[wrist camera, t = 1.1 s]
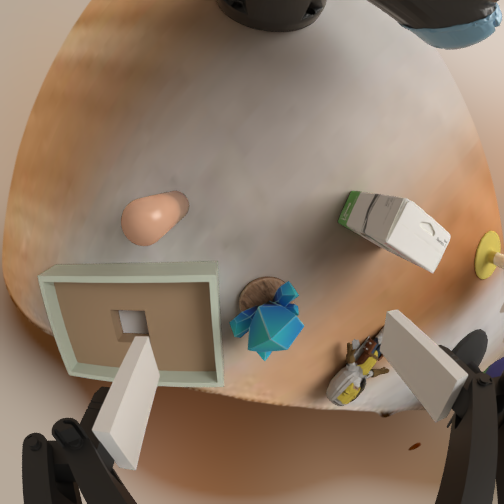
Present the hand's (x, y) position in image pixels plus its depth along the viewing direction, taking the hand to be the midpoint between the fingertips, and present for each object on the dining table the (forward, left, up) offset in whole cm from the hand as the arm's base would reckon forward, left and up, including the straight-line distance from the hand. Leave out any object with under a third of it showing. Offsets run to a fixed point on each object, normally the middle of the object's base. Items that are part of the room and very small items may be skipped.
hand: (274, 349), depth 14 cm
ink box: (-4, +16, -21) cm, 27 cm away
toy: (+19, +18, -22) cm, 34 cm away
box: (+9, -16, -21) cm, 28 cm away
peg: (-6, -9, -21) cm, 23 cm away
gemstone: (+7, +2, -21) cm, 23 cm away
